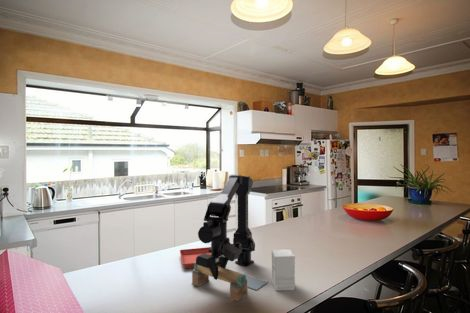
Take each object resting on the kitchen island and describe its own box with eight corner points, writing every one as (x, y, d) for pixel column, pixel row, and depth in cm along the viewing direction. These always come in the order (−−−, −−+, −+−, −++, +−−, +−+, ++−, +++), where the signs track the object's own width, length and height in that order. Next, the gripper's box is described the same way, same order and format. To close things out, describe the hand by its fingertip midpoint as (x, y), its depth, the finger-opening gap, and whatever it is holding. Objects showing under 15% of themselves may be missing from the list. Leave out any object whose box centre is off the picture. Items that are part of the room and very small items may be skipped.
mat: (219, 267, 119) (219, 266, 119) (267, 282, 105) (267, 281, 105) (206, 273, 113) (206, 272, 113) (256, 290, 99) (256, 289, 99)
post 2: (240, 291, 98) (240, 277, 98) (247, 294, 97) (247, 279, 97) (230, 298, 93) (230, 283, 93) (237, 301, 92) (237, 285, 92)
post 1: (202, 278, 109) (203, 265, 109) (208, 280, 107) (208, 267, 107) (192, 283, 104) (192, 270, 104) (198, 286, 102) (198, 272, 102)
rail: (199, 268, 108) (199, 260, 108) (246, 283, 95) (246, 274, 95) (194, 270, 105) (194, 262, 105) (241, 286, 93) (241, 277, 93)
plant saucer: (182, 271, 116) (182, 263, 116) (179, 256, 134) (179, 249, 134) (223, 267, 121) (223, 259, 121) (215, 253, 138) (215, 246, 138)
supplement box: (290, 281, 107) (290, 249, 107) (295, 290, 99) (295, 256, 99) (271, 281, 106) (271, 249, 106) (274, 291, 99) (275, 256, 99)
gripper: (220, 246, 88) (219, 294, 88) (251, 233, 103) (250, 274, 103) (194, 240, 94) (194, 285, 95) (227, 228, 110) (227, 267, 110)
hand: (218, 277), depth 100 cm, fingers closed on rail, 3 cm apart
